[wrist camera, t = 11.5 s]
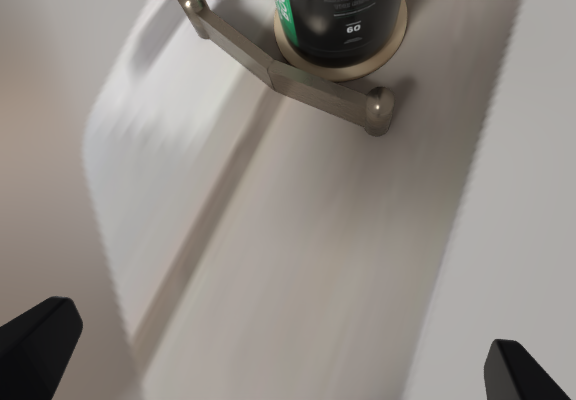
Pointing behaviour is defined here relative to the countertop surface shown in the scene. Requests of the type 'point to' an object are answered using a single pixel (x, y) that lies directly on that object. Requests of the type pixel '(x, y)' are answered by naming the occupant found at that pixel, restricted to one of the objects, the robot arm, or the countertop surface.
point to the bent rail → (294, 75)
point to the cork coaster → (348, 72)
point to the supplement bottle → (337, 29)
